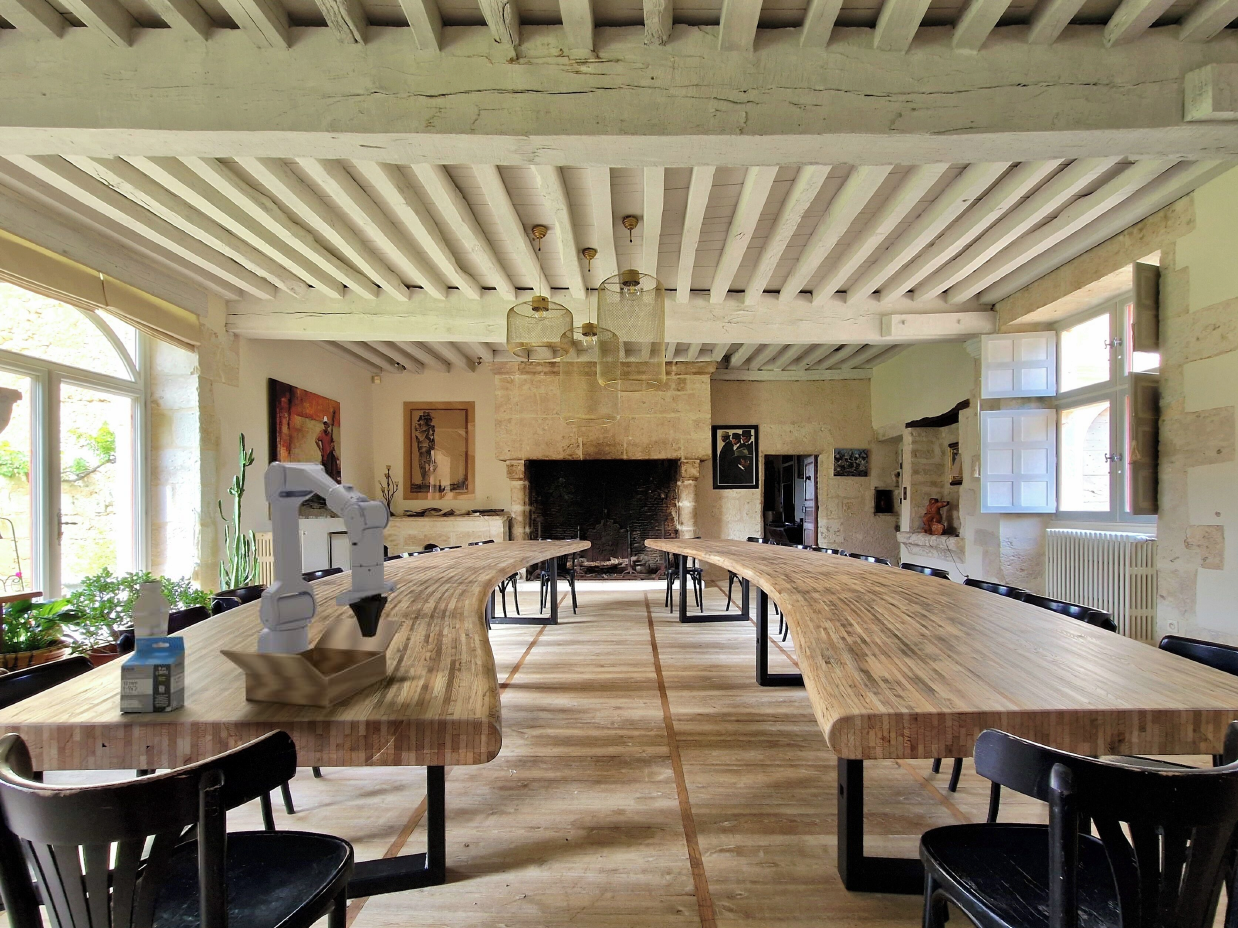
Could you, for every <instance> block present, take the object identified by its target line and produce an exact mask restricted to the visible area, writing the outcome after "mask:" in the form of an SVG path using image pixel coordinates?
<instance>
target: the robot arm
mask: <svg viewBox="0 0 1238 928" xmlns="http://www.w3.org/2000/svg"><path fill="white" fill-rule="evenodd" d="M263 478H264V479H263V481H264V494H265V496H264V497H265V501H266V502H268V503H269V504H270V515H271V519H270V520H271V536H272V538H271V539H272V552H273V571H274V574H273V575H274V582H273V583H271V584H270V585H269V586H268V587H267V588H266V589H264V590H263V591H262V592H261V600H260V606H259V611H258V613H259V615H258V617H259V619H260V623H261V625H263V626H264V627H265V628H264V629H262V631H261V632H260V633H259V635H258V638H257V652H260V653H275V654H289V655H295V654H297V653H300V652H303V651H306V650H308V649H310V647H309V642H310V641H309V640H310V639H309V625H310V624H312V622H313V621H312V620H313V619H315V617H316V615H317V612H318V606H319V605H318V601H317V598H316V594H315V590H314V586H313V584H311V583H309V582H308V581H306V580H304V579H303V571H302V570H303V569H302V552H301V535H300V520H299V507H300V505H301V504H302V503H303V502H304V501H306V500H308V499H309V498H311V497H312V496H313V495H314V494H317V495H319V496H320V497H322V498H324V499H325V503H326V506H327V509H329V510H331V511H332V512H334V513H335V514H336V515H337V516H338V517H340V518H341V519H343V525H344V527H345V529H346V532H347V539H348V542H350V548H351V552H350V556H351V557H350V560H351V563H350V564H351V567H350V568H351V569H350V570H351V589H347V590H346V591H344V592H342V593H339V594H336V595H335V606H336V607H347V606H348V607H349V608H350V610H351V611H352V613H353V614H354V616H355V619H357V621H358V624H359V627H360V630H361V634H362V637H369V638H371V637H374V636H376V632H377V628H378V624H379V620H381V617H382V614H383V611H384V609H385V607H386V605H387V603H388V602H389V600H388V599H389V597H388V596H385V594H388V593H391V592H392V593H393V592H394V593H395V592H398V581H396V580H394V581H393V580H392V581H391V580H389V581H385V554H384V552H385V551H384V550H385V549H384V544H385V543H384V539H385V538H384V530H386V529H387V527H388V526H389V524H390V521H391V519H390V518H391V513H390V510H389V507H388V505H387V504H386V503H385V502H384V501H383V500H381V499H379V500H370V499H369V498H368V496H367V495H366V494H362V493H360V492H359V491H357V490H356V489H354V488H355V486H354V485H353V484H351V483H344V484H338V483H337V482H336V481H335V480H334V479H333V478H332V477H330V476H329V475H328V474H327V473H326V469H325V467H324V466H323V465H321V464H320V463H319V462H316V461H311V462H280V461H273V462H271V463H270V464H269V465H268V467H267V469H266V471H265V472H264V475H263ZM383 594H384V596H383Z"/></svg>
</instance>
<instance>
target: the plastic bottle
mask: <svg viewBox="0 0 1238 928" xmlns="http://www.w3.org/2000/svg"><path fill="white" fill-rule="evenodd" d="M161 591H163V582H162V580H159V579H158V580H148V581H147V580H146V581H141V582H139V590H138V592H139V593H140V595H139V596H138V598H137V599H136V600H135V602H134V603H133V605H132V607H131V618H132V623H133V629H134V652H133V654H134V653H135V652H136V651H137V650H136V638H152V637H168V629H169V628H168V627H169V618H170V617H169V616H170V613H171V611H170V610H171V603H170V601H169V600H168V599H167V597H166V596H165V595H164V594H163V593H162V592H161ZM152 646H153V647H167V646H169V644H167V643H164V644H163V643H162V642H159V643H158V644H153V645H152Z"/></svg>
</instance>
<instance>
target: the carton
mask: <svg viewBox="0 0 1238 928" xmlns="http://www.w3.org/2000/svg"><path fill="white" fill-rule="evenodd" d="M295 655H301V656H302V657H303V658H305V659H306V660H307V661H308V662H309V663H310V664H311V665H312V666H313V667H315V668H316V669H317V670H318V671H319V672H320V673H321V674H322V675H323V676H325V679H312V678H299V677H287V676H274V675H262V674H250V673H246V672H245V678H244V679H245V680H244V682H245V701H250V702H251V701H253V702H260V703H261V702H263V703H270V704H271V703H274V704H282V705H292V706H305V707H313V708H315V707H316V708H323V709H324V708H326V709H328V708H330V707H333V705H336V704H337V703H340V702H342V701H343V700H346V699H348V698H350V697H352V696H353V695H355V694H358V693H359V692H361V691H364V690H365V689H367V688H369V687H372V686H373V685H375V684H377V683H379V682H381V681H384V680H385V679H387V678H388V676H387V675H388V674H387V673H388V672H387V670H388V669H387V665H388V664H387V652H369V651H353V650H337V649H322V648H314V647H312V648H309V649H308V650H306V651H303V652H300V653H297V654H295Z"/></svg>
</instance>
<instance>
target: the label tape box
mask: <svg viewBox="0 0 1238 928" xmlns="http://www.w3.org/2000/svg"><path fill="white" fill-rule="evenodd" d="M159 642H162V643H163V644H164V643H167V644H168V646H167V647H153V646H152V645H153V644H158V643H159ZM136 650H137V651H136V652H135V653H134V652H133V654H132V655H131V656H130V657H129V658H128V659H127V660H126V661H124V662H123V663H122V664H121V666H120V695H119V696H120V700H119V701H120V702H119V705H120V706H119V713H120V712H141V713H154V712H153V711H162V712H172V711H175V710H176V708H177V709H179V708H180V707H179V706H181V707H182V706H184V705H185V696H186V695H185V692H186V691H185V690H186V689H185V688H186V687H185V685H186V684H185V681H186V679H185V678H186V677H185V676H186V675H185V671H186V670H185V669H186V668H185V667H186V666H185V660H186V657H185V656H186V651H185V650H186V649H185V641H184V636H179V635H178V636H167V637H152V638H136ZM178 707H179V708H178ZM174 709H175V710H174ZM171 710H172V711H171Z"/></svg>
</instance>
